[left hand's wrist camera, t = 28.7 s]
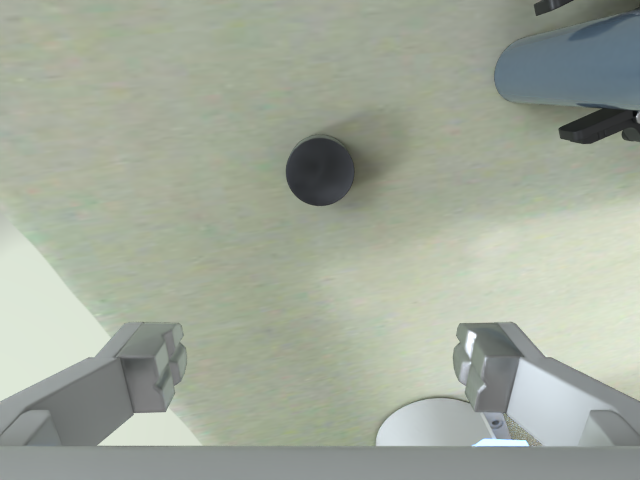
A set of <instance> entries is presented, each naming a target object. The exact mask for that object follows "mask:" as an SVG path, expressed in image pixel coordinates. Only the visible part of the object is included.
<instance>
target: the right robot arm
mask: <svg viewBox="0 0 640 480" xmlns="http://www.w3.org/2000/svg"><path fill="white" fill-rule="evenodd" d="M571 1H573V0H542V1H540V2H538V3H536V4H534V8H535V13H536V16H538V15H541V14H544V13H546V12H549V11H552V10H554V9H557V8H559V7H561V6H563V5H565V4H567V3H569V2H571ZM639 8H640V6H639ZM639 8H636V9H639ZM621 130H623V131H622V138H623V139H624V140H627V141H637V142H640V111H634V110H619V109H604V108H603V109H600V110H598V111H596V112H594V113H591V114H589V115H587V116H585V117H582V118H580V119H578V120H576V121H573V122H571V123H569V124H566V125H564V126H562V127H560V128H559V134H560V138H561V139H565V140H570V141H571V142H576V143H581V144H591V143H593V142H596V141H598V140H600V139H603V138H605V137H607V136H610V135H612V134H614V133H617V132H619V131H621Z"/></svg>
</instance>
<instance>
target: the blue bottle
mask: <svg viewBox="0 0 640 480" xmlns="http://www.w3.org/2000/svg"><path fill="white" fill-rule="evenodd" d="M494 80H495V85H496V88H497V90H498V92H499V94H500V95H501V96H502V97H503V98H504V99H506V100H508V101H510V102H514V103H527V104H543V105H558V106H573V107H589V108H604V109H619V110H634V111H640V8H639V9H635V10H631V11H627V12H623V13H620V14H616V15H612V16H608V17H604V18H600V19H596V20H592V21H588V22H584V23H580V24H576V25H572V26H568V27H564V28H560V29H556V30H552V31H548V32H544V33H540V34H536V35H532V36H528V37H524V38H521V39H519V40H517V41H515V42H513V43H512V44H511V45H509V46H508V47H507V48H506V49H505V50H504V52H503V53H502V54H501V56H500V58H499V60H498V62H497V65H496V68H495V74H494Z"/></svg>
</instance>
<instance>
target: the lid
mask: <svg viewBox="0 0 640 480" xmlns="http://www.w3.org/2000/svg"><path fill="white" fill-rule="evenodd" d="M286 178H287V182H288V185H289V187H290V189H291V191H292V192H293V193H294V194H295V195H296V196H297V197H298V198H299V199H300V200H302V201H303V202H305V203H308V204H311V205H315V206H325V205H330V204H333V203H335V202H337V201H339V200H340V199H341V198H343V197H344V196H345V195H346V193H347V192H348V191H349V189H350V187H351V185H352V183H353V179H354V165H353V161H352V158H351V156H350V154H349V152H348V150H347V149H346V147H345V146H344V145H343V144H342V143H341V142H340V141H339V140H337V139H335V138H333V137H331V136H328V135H312V136H309V137H307V138H305V139H303V140H301V141H300V142H299V143H298V144H297V145H296V146H295V147H294V149H293V150H292V152H291V154H290V157H289V159H288V162H287V165H286Z"/></svg>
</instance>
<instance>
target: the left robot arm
mask: <svg viewBox="0 0 640 480" xmlns="http://www.w3.org/2000/svg"><path fill="white" fill-rule="evenodd" d="M183 336H184V334H183V329H182V325H181V324H179V323H161V322H128V323H125V324H124V325H123V326H122V327H121V328H120V329H119V330H118V331H117V332H116V334H115V335H114V336H113V337H112V338H111V339H110V340H109V341H108V343H107V344H106V345H105V346H104V347H103V348H102V349H101V350H100V352H99V353H98V354H97V355H96V356H95V357H91V358H87V359H85V360H83V361H81V362H79V363H77V364H75V365H72V366H70V367H68V368H67V369H64V370H62V371H60V372H58V373H56V374H54V375H52V376H50V377H48V378H46V379H44V380H42V381H40V382H38V383H36V384H34V385H32V386H30V387H28V388H26V389H24V390H22V391H20V392H18V393H16V394H14V395H12V396H10V397H8V398H6V399H4V400H2V401H0V480H640V401H638V400H636V399H634V398H632V397H630V396H628V395H626V394H624V393H622V392H620V391H618V390H616V389H614V388H612V387H610V386H608V385H606V384H604V383H602V382H600V381H598V380H596V379H594V378H592V377H590V376H588V375H586V374H584V373H582V372H580V371H578V370H575V369H573V368H571V367H569V366H567V365H565V364H563V363H561V362H559V361H557V360H555V359H553V358H551V357H545V356H544V355H543V354H542V353H541V352H540V350H539V349H538V348H537V347H536V346H535V345H534V344H533V343H532V341H531V340H530V339H529V338H528V337H527V336H526V335H525V334H524V332H523V331H522V330H521V329H520V328H519V327H518V326H517V325H516V324H515V323H513V322H494V323H460V324H459V326H458V328H457V334H456V336H457V338H458V339H459V341H460V343H459V344H458V345H457V346H456V347H455V348H454V353H453V365H454V370H455V374H456V376H457V378H458V380H459V382H461V383H462V384H464V385H465V386H466V390H465V394H466V396H467V398H468V400H469V402H470V403H467V402H463V401H460V400H456V399H450V398H432V399H425V400H420V401H417V402H414V403H411V404H408V405H406V406H404V407H402V408H400V409H399V410H397V411H396V412H394V413H393V414H392V415H390V416H389V417H388V418H387V419H386V420H385V422H384V423H383V424H382V426H381V427H380V429H379V431H378V434H377V438H376V446H97V445H98V444H99V443H100V442H102V441H103V440H104V439H105V438H106V437H108V436H109V435H110V434H111V433H112V432H113V431H115V430H116V429H117V428H118V427H119V426H121V425H122V424H123V423H124V422H125V421H127V420H128V419H129V418H130V417H131V416H133V415H134V413H150V412H166V410H167V408H168V406H169V404H170V402H171V400H172V398H173V396H174V394H175V390H174V386H175V385H176V384H178V383H179V382H181V380H182V378H183V376H184V374H185V370H186V365H187V352H186V348H185V347H184V346H183V345H182V344H181V343H180V341H181V339H182V338H183ZM503 413H506V415H507V416H509V417H510V418H511V419H512V420H513V421H515V422H516V423H517V424H518V425H519V426H521V427H522V428H523V429H524V430H525V431H527V432H528V433H529V434H530V435H531V436H533V437H534V438H535V439H536V440H537V441H539V442H540V443H541V444H542V445H543V446H529V445H528V444H527V442H526V441H523V440H512V438H511V436H510V433H509V430H508V427H507V424H506V421H505V418H504V415H503Z"/></svg>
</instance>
